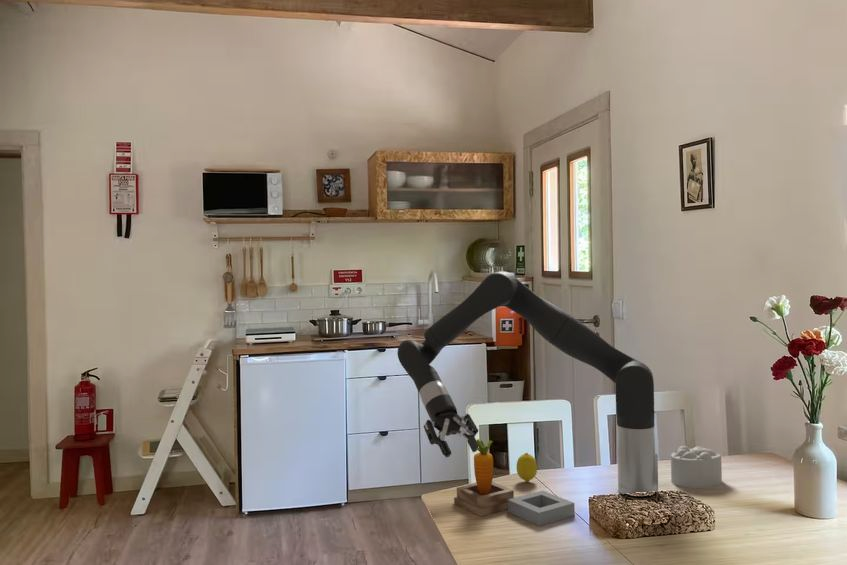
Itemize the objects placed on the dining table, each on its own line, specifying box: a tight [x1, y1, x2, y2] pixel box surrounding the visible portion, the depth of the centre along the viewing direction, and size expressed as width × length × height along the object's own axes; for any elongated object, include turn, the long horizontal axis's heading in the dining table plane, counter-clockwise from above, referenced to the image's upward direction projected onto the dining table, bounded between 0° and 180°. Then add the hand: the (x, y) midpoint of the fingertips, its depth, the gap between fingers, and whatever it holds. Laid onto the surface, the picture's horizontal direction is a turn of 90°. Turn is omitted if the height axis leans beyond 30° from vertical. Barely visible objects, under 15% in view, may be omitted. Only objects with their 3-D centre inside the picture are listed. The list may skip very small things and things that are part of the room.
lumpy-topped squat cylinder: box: [670, 445, 723, 489], centre depth 180 cm, size 10×13×9 cm
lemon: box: [516, 452, 538, 483], centre depth 183 cm, size 6×6×8 cm
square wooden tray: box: [453, 481, 515, 517], centre depth 166 cm, size 11×11×4 cm
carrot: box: [473, 438, 494, 496], centre depth 166 cm, size 5×5×15 cm
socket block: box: [507, 490, 576, 527], centre depth 159 cm, size 11×11×3 cm
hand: (462, 453), depth 173 cm, fingers open, 8 cm apart
